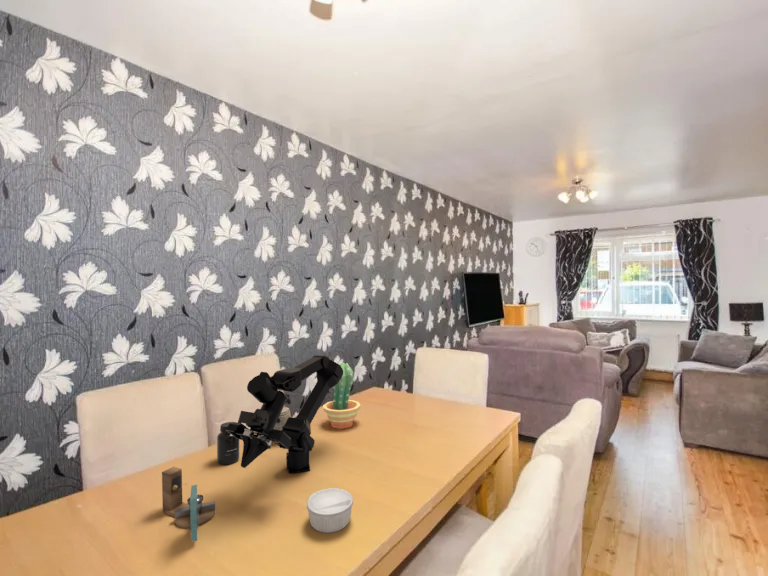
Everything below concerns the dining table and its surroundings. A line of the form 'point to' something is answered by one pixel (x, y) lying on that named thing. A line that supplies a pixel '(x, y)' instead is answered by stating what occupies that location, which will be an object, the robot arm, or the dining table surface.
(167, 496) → the stand
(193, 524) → the turnstile
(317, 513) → the ramekin
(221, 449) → the supplement bottle
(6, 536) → the dining table surface
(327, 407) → the potted cactus
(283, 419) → the beige piece
